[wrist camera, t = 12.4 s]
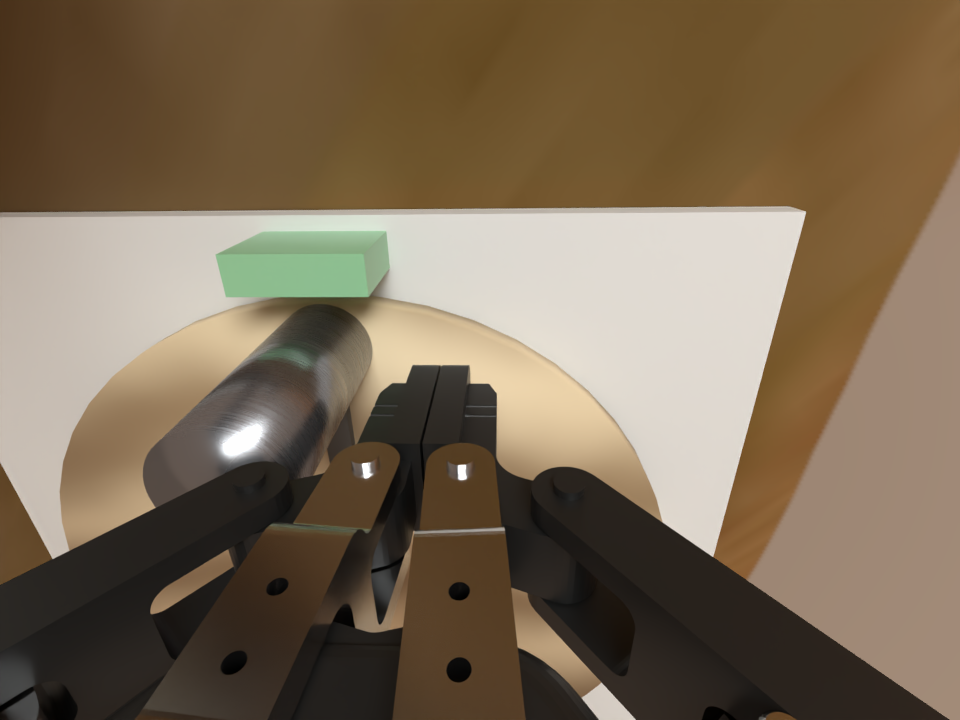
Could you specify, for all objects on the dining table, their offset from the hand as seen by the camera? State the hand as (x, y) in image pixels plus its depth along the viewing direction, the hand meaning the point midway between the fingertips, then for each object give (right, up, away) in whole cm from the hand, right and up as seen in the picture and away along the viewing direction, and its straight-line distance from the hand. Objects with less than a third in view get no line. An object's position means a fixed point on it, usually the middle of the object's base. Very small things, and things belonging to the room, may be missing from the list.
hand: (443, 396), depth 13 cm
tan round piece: (-4, -8, +9) cm, 13 cm away
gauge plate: (-4, -8, +10) cm, 13 cm away
